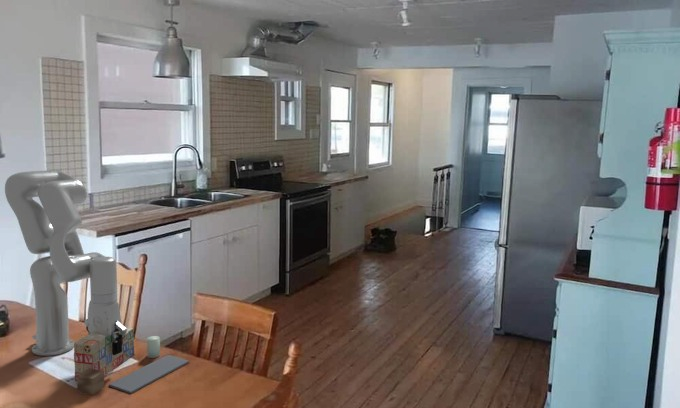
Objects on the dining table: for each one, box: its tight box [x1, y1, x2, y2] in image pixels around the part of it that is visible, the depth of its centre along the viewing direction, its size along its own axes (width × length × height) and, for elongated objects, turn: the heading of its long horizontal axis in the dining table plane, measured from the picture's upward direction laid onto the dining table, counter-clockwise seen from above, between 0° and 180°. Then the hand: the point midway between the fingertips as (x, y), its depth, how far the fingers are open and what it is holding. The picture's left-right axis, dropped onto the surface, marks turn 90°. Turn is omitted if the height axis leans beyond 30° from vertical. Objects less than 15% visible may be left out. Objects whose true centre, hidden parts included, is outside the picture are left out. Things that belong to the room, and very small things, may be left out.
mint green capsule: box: [146, 335, 161, 359], centre depth 181 cm, size 4×4×6 cm
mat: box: [108, 354, 190, 394], centre depth 168 cm, size 9×24×1 cm, turn 154°
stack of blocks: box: [73, 326, 135, 382], centre depth 171 cm, size 21×6×12 cm, turn 168°
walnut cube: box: [76, 369, 105, 396], centre depth 157 cm, size 5×5×5 cm
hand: (106, 350), depth 170 cm, fingers open, 9 cm apart
